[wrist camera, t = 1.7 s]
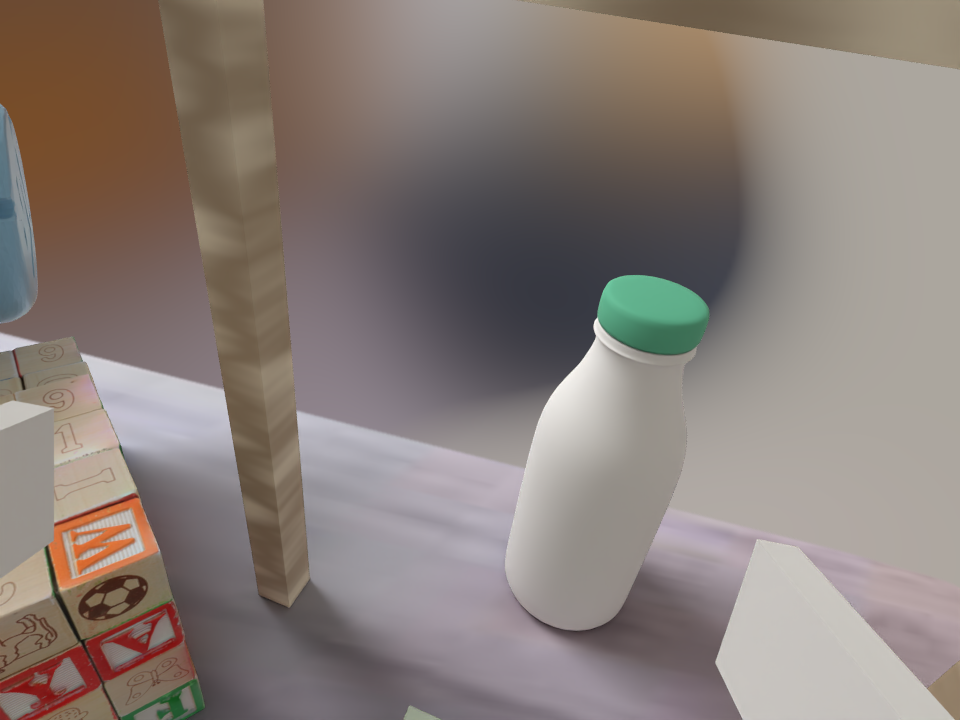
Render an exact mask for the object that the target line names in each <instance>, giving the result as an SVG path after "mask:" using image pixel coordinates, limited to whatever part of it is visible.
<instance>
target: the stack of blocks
mask: <svg viewBox="0 0 960 720" xmlns="http://www.w3.org/2000/svg"><path fill="white" fill-rule="evenodd" d="M10 401H18V402H23V403H29V404H34V405H39V406H45V407H50V408H54V541H53V542H51V543H50V544H48V545H47V546H46V547H44V548H43V549H41V550H40V551H39V552H37V553H36V554H34V555H33V556H32V557H30V558H29V559H27V560H26V561H24V562H23V563H22V564H20V565H19V566H17V567H16V568H15V569H13V570H12V571H10V572H9V573H8V574H6V575H5V576H3V577H2V578H1V579H0V720H185V719H187V718H188V717H190V716H192V715H194V714H195V713H197V712H199V711H201V710H203V709H204V708H205V703H204V699H203V695H202V691H201V687H200V683H199V679H198V676H197V673H196V670H195V667H194V664H193V661H192V659H191V656H190V653H189V650H188V647H187V644H186V642H185V637H186V636H185V633H184V629H183V626H182V623H181V620H180V616H179V612H178V609H177V606H176V603H175V600H174V597H173V594H172V592H171V589H170V585H169V581H168V577H167V573H166V569H165V566H164V562H163V558H162V555H161V552H160V549H159V546H158V543H157V541H156V538H155V536H154V534H153V531H152V529H151V526H150V524H149V521H148V519H147V516H146V514H145V511H144V508H143V505H142V502H141V499H140V495H139V493H138V490H137V488H136V485H135V483H134V481H133V478H132V476H131V474H130V472H129V469H128V467H127V465H126V462H125V459H124V455H123V452H122V448H121V445H120V442H119V440H118V437H117V435H116V433H115V431H114V428H113V426H112V424H111V421H110V419H109V417H108V414H107V412H106V411H105V410H104V408H103V405H102V403H101V400H100V398H99V396H98V393H97V390H96V387H95V384H94V381H93V378H92V376H91V373H90V371H89V368H88V365H87V363H86V362H83V360H82V358H81V355H80V352H79V350H78V347H77V344H76V342H75V339H74V337H69V338H63V339H59V340H54V341H49V342H44V343H39V344H35V345H30V346H24V347H19V348H16V349H14V350H13V351H5V352H0V405H2V404H4V403H7V402H10Z"/></svg>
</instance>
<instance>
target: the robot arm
mask: <svg viewBox="0 0 960 720" xmlns="http://www.w3.org/2000/svg"><path fill="white" fill-rule="evenodd" d="M37 285H38V284H37V265H36V253H35V244H34V236H33V228H32V221H31V214H30V207H29V201H28V195H27V189H26V183H25V178H24V171H23V166H22V161H21V156H20V151H19V147H18V142H17V139H16V134H15V131H14V127H13V124H12V121H11V119H10V117H9V115H8V113H7V111H6V109H5V108H4V107H3V106H2V105H1V104H0V323H6V322H11V321H14V320H16V319H19V318H20V317H21V316H23V315H25V314H26V313H27V312H28V311H29V310H30V308H31V307H32V306H33V304H34V302H35V300H36V297H37V290H38V287H37ZM53 541H54V408H50V407H45V406H39V405H34V404H29V403H23V402H18V401H10V402H7V403H4V404H2V405H0V579H1V578H2V577H3V576H5V575H6V574H8V573H9V572H10V571H12V570H13V569H15V568H16V567H17V566H19V565H20V564H22V563H23V562H24V561H26V560H27V559H29V558H30V557H32V556H33V555H34V554H36V553H37V552H39V551H40V550H41V549H43V548H44V547H46V546H47V545H48V544H50V543H51V542H53ZM715 663H716V665H717V667H718V669H719V672H720V674H721V676H722V678H723V680H724V682H725V684H726V686H727V688H728V690H729V692H730V694H731V696H732V698H733V701H734V703H735V705H736V707H737V709H738V711H739V713H740V715H741V717H742V719H743V720H955V719H954V718H953V717H952V716H951V715H950V714H949V713H948V712H947V710H946V709H945V708H944V707H943V706H942V705H941V704H940V703H939V702H938V701H937V699H936V698H935V697H934V696H933V695H932V694H931V693H930V692H929V691H928V690H927V688H926V687H925V686H924V685H923V684H922V683H921V682H920V681H919V680H918V679H917V677H916V676H915V675H914V674H913V673H912V672H911V671H910V670H909V669H908V668H907V666H906V665H905V664H904V663H903V662H902V661H901V660H900V659H899V658H898V657H897V655H896V654H895V653H894V652H893V651H892V650H891V649H890V648H889V647H888V646H887V644H886V643H885V642H884V641H883V640H882V639H881V638H880V637H879V636H878V635H877V633H876V632H875V631H874V630H873V629H872V628H871V627H870V626H869V625H868V624H867V622H866V621H865V620H864V619H863V618H862V617H861V616H860V615H859V614H858V613H857V611H856V610H855V609H854V608H853V607H852V606H851V605H850V604H849V603H848V601H847V600H846V599H845V598H844V597H843V596H842V595H841V594H840V593H839V592H838V590H837V589H836V588H835V587H834V586H833V585H832V584H831V583H830V582H829V581H828V579H827V578H826V577H825V576H824V575H823V574H822V573H821V572H820V571H819V570H818V568H817V567H816V566H815V565H814V564H813V563H812V562H811V561H810V560H809V559H808V557H807V556H806V555H805V554H804V553H803V552H802V551H801V550H800V549H799V548H798V547H796V546H791V545H785V544H780V543H775V542H769V541H764V540H758V539H757V541H756V544H755V547H754V550H753V553H752V556H751V559H750V562H749V565H748V568H747V571H746V574H745V577H744V579H743V582H742V585H741V588H740V591H739V594H738V597H737V600H736V603H735V606H734V609H733V612H732V615H731V618H730V621H729V624H728V627H727V629H726V632H725V635H724V638H723V641H722V644H721V647H720V650H719V653H718V656H717V659H716V662H715Z"/></svg>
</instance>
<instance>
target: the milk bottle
mask: <svg viewBox="0 0 960 720" xmlns="http://www.w3.org/2000/svg"><path fill="white" fill-rule="evenodd" d="M708 321H709V309H708V307H707V305H706V304H705V302H704V301H703V300H702V299H701V298H700V297H699V296H698V295H697V294H695V293H694V292H692V291H691V290H689V289H687V288H685V287H683V286H681V285H679V284H676V283H674V282H671V281H668V280H665V279H661V278H656V277H651V276H642V275H628V276H622V277H618V278H616V279H613V280H611V281H610V282H609V283H608V284H607V286H606V287H605V289H604V291H603V294H602V297H601V300H600V304H599V308H598V318H597V319H596V320H595V322H594V331H595V334H596V339H595V341H594V343H593V345H592V347H591V348H590V350H589V351H588V353H587V354H586V356H585V357H584V358H583V360H582V361H581V363H580V364H579V365H578V366H577V367H576V368H575V369H574V370H573V371H572V372H571V373H570V374H569V375H568V376H567V377H566V378H565V379H564V380H563V382H562V383H561V384H560V385H559V386H558V387H557V388H556V390H555V391H554V393H553V394H552V395H551V397H550V399H549V400H548V402H547V404H546V406H545V407H544V410H543V412H542V415H541V417H540V419H539V422H538V424H537V428H536V431H535V435H534V438H533V441H532V446H531V449H530V452H529V457H528V461H527V465H526V469H525V473H524V477H523V481H522V485H521V489H520V493H519V498H518V502H517V506H516V510H515V515H514V519H513V523H512V528H511V532H510V536H509V541H508V545H507V551H506V556H505V572H506V577H507V580H508V583H509V585H510V588H511V590H512V592H513V594H514V596H515V597H516V598H517V600H518V601H519V602H520V604H521V605H522V606H523V607H524V608H525V609H526V610H527V611H528V612H529V613H530V614H531V615H533V616H534V617H536V618H537V619H539V620H540V621H541V622H544V623H546V624H548V625H550V626H553V627H556V628H560V629H564V630H573V631H581V630H589V629H592V628H595V627H598V626H601V625H603V624H605V623H607V622H608V621H610V620H611V619H612V618H614V617H615V616H616V615H617V613H618V612H619V611H620V609H621V608H622V606H623V604H624V602H625V600H626V598H627V596H628V594H629V592H630V590H631V588H632V586H633V583H634V581H635V579H636V577H637V575H638V573H639V570H640V568H641V566H642V564H643V561H644V559H645V557H646V555H647V553H648V550H649V548H650V546H651V544H652V542H653V539H654V537H655V535H656V533H657V530H658V528H659V526H660V523H661V521H662V519H663V517H664V514H665V512H666V510H667V507H668V505H669V503H670V500H671V498H672V495H673V493H674V490H675V487H676V485H677V482H678V480H679V477H680V474H681V471H682V467H683V463H684V459H685V453H686V444H687V429H686V419H685V413H684V406H683V397H682V379H683V370H684V366H685V363H686V362H688V361H690V360H691V359H692V358H693V357H694V356H695V354H696V347H697V345H698V344H699V343H700V341H701V339H702V337H703V334H704V332H705V329H706V326H707V323H708Z"/></svg>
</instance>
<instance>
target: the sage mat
mask: <svg viewBox="0 0 960 720" xmlns="http://www.w3.org/2000/svg"><path fill="white" fill-rule="evenodd" d="M403 720H441V719H439V718H437V717H435V716H432V715H430V714H428V713H426V712H423V711H421V710H419V709H417V708H414V707H412V706H410V705H409V707H408V710H407V712H406V714H405V716H404V719H403Z"/></svg>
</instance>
